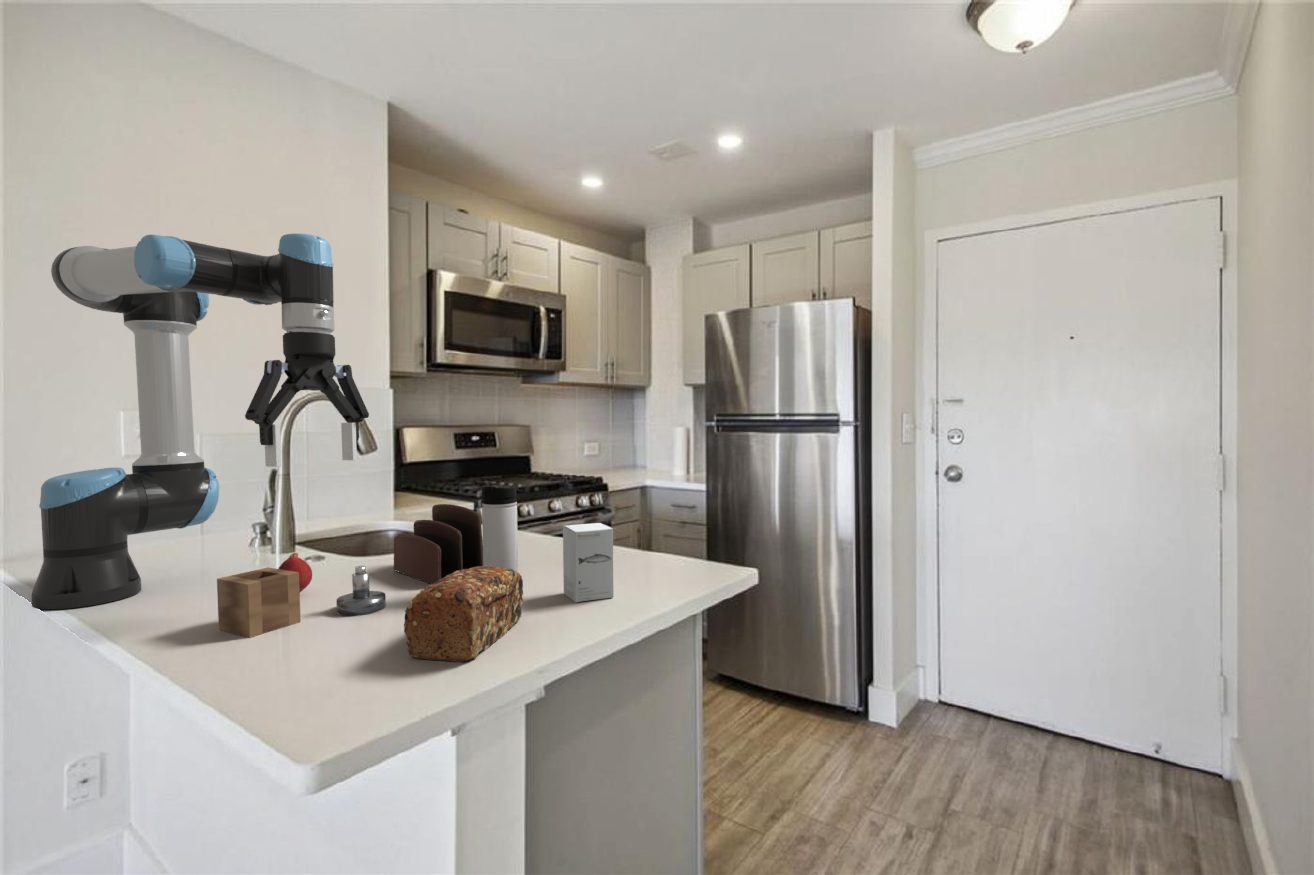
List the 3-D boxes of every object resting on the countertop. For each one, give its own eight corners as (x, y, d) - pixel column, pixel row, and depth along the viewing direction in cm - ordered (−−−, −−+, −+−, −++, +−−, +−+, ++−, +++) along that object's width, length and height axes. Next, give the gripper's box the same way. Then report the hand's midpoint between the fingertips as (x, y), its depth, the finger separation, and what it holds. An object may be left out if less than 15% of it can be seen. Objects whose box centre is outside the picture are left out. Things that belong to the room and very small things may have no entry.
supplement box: (574, 604, 112) (573, 531, 111) (562, 593, 119) (561, 524, 118) (614, 598, 115) (613, 527, 114) (601, 588, 122) (600, 521, 121)
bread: (474, 665, 85) (472, 590, 85) (400, 661, 87) (398, 587, 87) (526, 620, 104) (525, 558, 103) (464, 617, 106) (463, 556, 105)
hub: (326, 612, 109) (325, 569, 108) (365, 600, 115) (364, 560, 115) (357, 618, 105) (356, 574, 105) (395, 605, 112) (394, 564, 112)
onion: (296, 601, 115) (295, 556, 115) (268, 599, 116) (267, 555, 116) (319, 592, 121) (318, 550, 121) (292, 591, 122) (291, 549, 122)
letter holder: (437, 563, 144) (435, 500, 144) (485, 578, 130) (483, 509, 130) (393, 571, 137) (391, 505, 136) (439, 588, 123) (437, 515, 123)
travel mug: (475, 595, 118) (473, 485, 117) (497, 586, 124) (495, 482, 123) (504, 598, 115) (502, 487, 115) (525, 589, 121) (523, 483, 121)
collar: (218, 629, 100) (216, 578, 100) (269, 615, 107) (268, 567, 107) (249, 637, 97) (248, 584, 96) (300, 621, 104) (298, 572, 103)
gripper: (245, 322, 92) (251, 470, 93) (387, 338, 115) (391, 458, 116) (214, 326, 96) (220, 469, 97) (358, 341, 118) (362, 457, 119)
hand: (313, 463), depth 106 cm, fingers open, 13 cm apart
